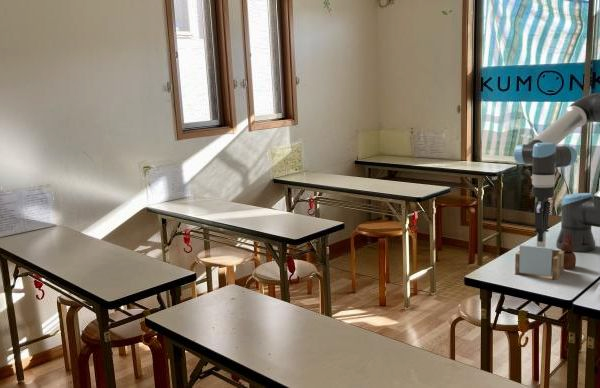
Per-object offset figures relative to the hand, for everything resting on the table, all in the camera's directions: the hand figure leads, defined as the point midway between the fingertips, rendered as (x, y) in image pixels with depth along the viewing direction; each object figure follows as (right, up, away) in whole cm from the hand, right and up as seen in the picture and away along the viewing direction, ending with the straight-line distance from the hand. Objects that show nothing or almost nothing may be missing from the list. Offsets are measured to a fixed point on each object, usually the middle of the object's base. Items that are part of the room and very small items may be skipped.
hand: (540, 249), depth 216 cm
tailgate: (-4, -9, -5) cm, 11 cm away
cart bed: (0, -10, 0) cm, 10 cm away
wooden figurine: (+12, -9, +5) cm, 15 cm away
